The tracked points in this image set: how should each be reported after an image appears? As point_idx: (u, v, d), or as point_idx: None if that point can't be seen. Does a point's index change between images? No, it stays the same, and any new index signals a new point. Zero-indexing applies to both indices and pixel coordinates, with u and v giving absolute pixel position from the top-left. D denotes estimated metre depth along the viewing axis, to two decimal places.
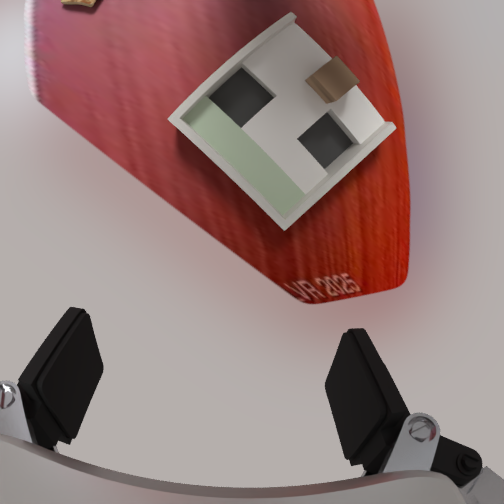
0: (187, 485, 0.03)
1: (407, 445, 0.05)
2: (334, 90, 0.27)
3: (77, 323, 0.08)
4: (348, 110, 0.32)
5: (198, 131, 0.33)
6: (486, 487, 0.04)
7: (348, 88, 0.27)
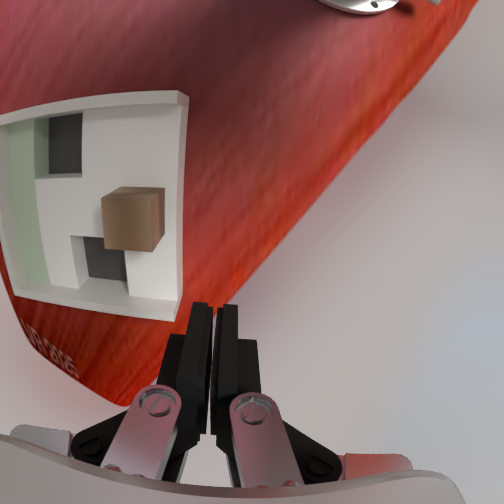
0: (187, 485, 0.03)
1: (248, 435, 0.06)
2: (111, 236, 0.20)
3: (208, 317, 0.10)
4: (141, 257, 0.25)
5: (9, 148, 0.20)
6: (363, 474, 0.05)
7: (130, 247, 0.20)
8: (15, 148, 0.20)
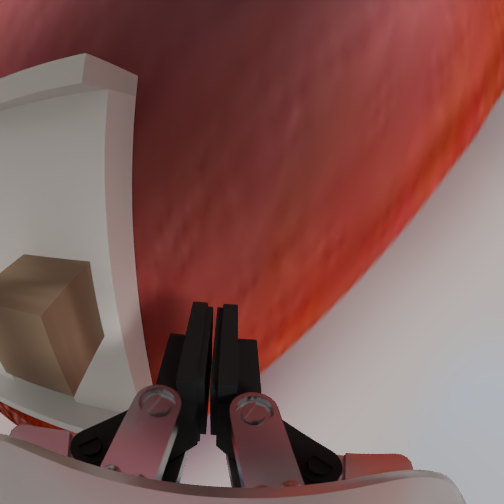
0: (187, 485, 0.03)
1: (248, 435, 0.06)
2: (6, 359, 0.08)
3: (208, 317, 0.10)
4: None
5: None
6: (363, 474, 0.05)
7: (38, 382, 0.08)
8: None
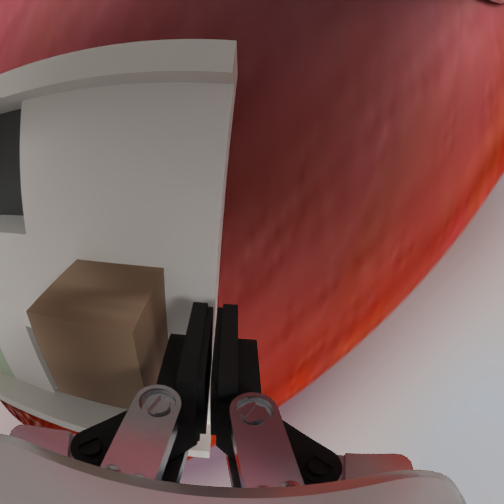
0: (187, 485, 0.03)
1: (248, 435, 0.06)
2: (64, 378, 0.08)
3: (208, 317, 0.10)
4: None
5: None
6: (363, 474, 0.05)
7: (105, 400, 0.09)
8: None
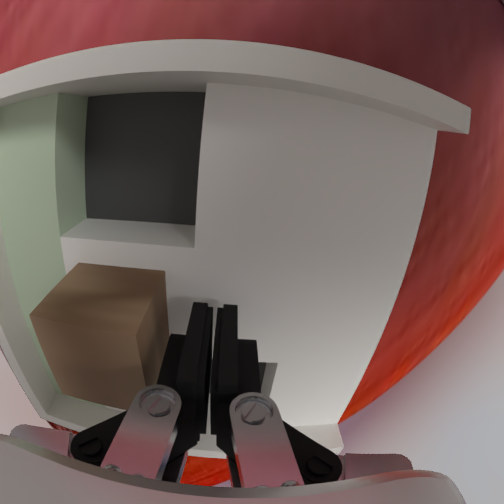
0: (187, 485, 0.03)
1: (248, 435, 0.06)
2: (67, 380, 0.08)
3: (208, 317, 0.10)
4: (304, 384, 0.14)
5: None
6: (362, 474, 0.05)
7: (108, 402, 0.09)
8: (10, 162, 0.09)
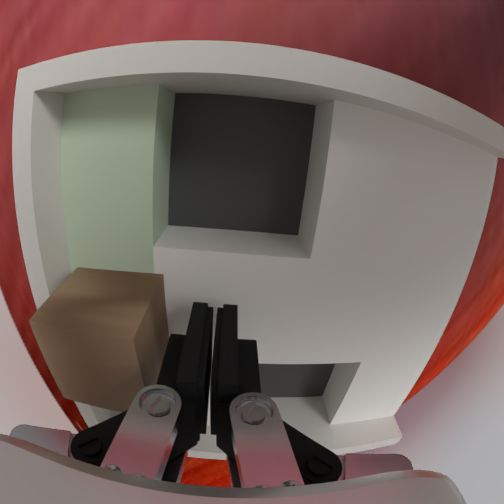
0: (187, 485, 0.03)
1: (248, 435, 0.06)
2: (68, 384, 0.08)
3: (208, 317, 0.10)
4: (377, 381, 0.14)
5: (65, 158, 0.09)
6: (363, 474, 0.05)
7: (108, 406, 0.09)
8: (85, 158, 0.09)
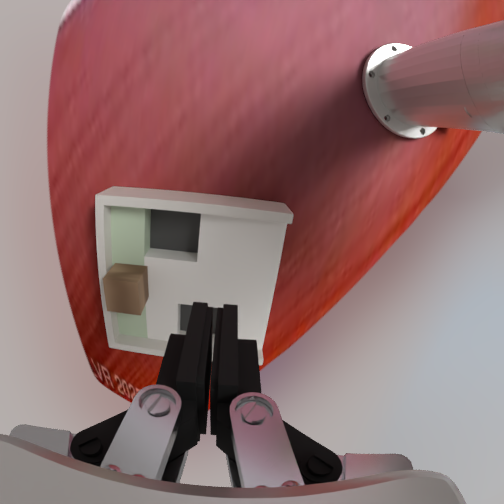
0: (187, 485, 0.03)
1: (248, 435, 0.06)
2: (111, 303, 0.28)
3: (208, 317, 0.10)
4: (240, 321, 0.35)
5: (112, 224, 0.29)
6: (363, 474, 0.05)
7: (125, 311, 0.29)
8: (120, 225, 0.29)
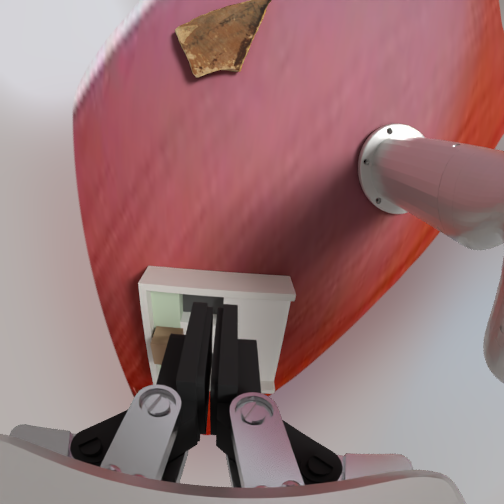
0: (187, 485, 0.03)
1: (249, 435, 0.06)
2: (157, 359, 0.37)
3: (208, 317, 0.10)
4: None
5: (153, 299, 0.38)
6: (363, 474, 0.05)
7: None
8: (159, 300, 0.38)
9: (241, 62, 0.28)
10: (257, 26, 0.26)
